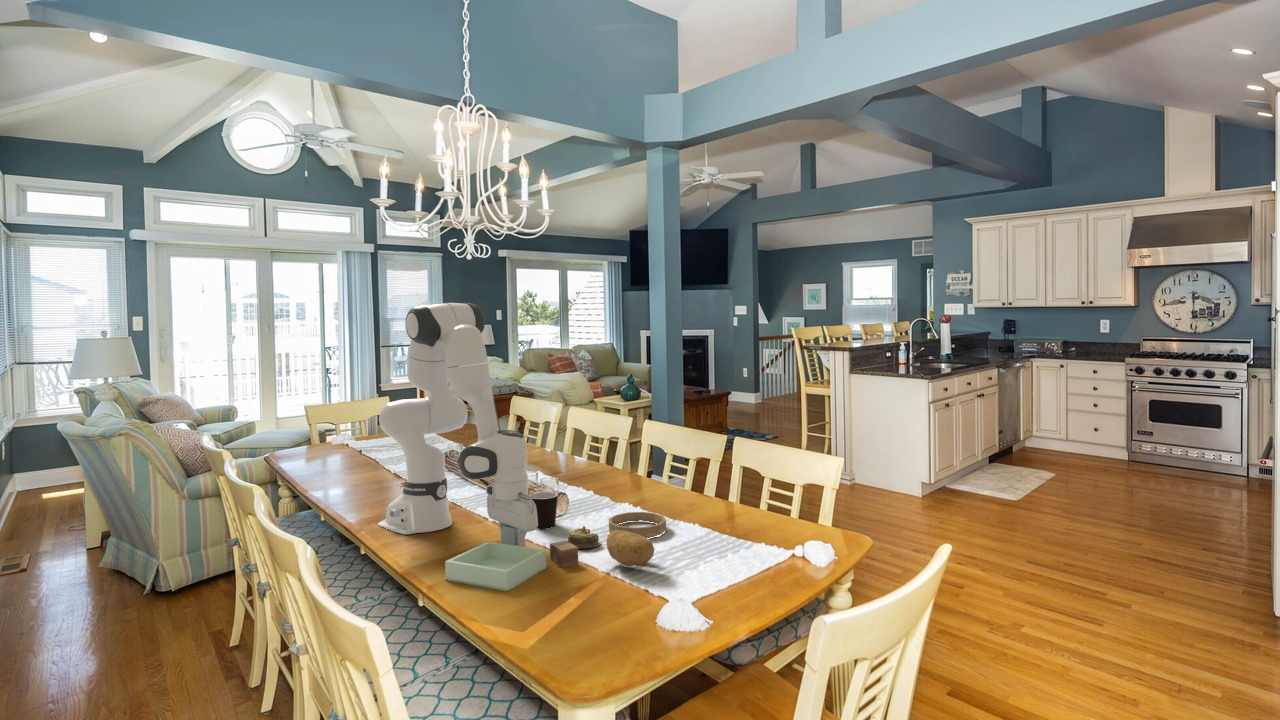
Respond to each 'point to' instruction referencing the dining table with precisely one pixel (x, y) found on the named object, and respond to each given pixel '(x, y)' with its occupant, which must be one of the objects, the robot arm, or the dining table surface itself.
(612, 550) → the potato
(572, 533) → the cake
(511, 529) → the grey block
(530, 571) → the serving tray
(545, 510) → the coffee mug
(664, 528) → the ring
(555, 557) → the walnut block
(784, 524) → the dining table surface
